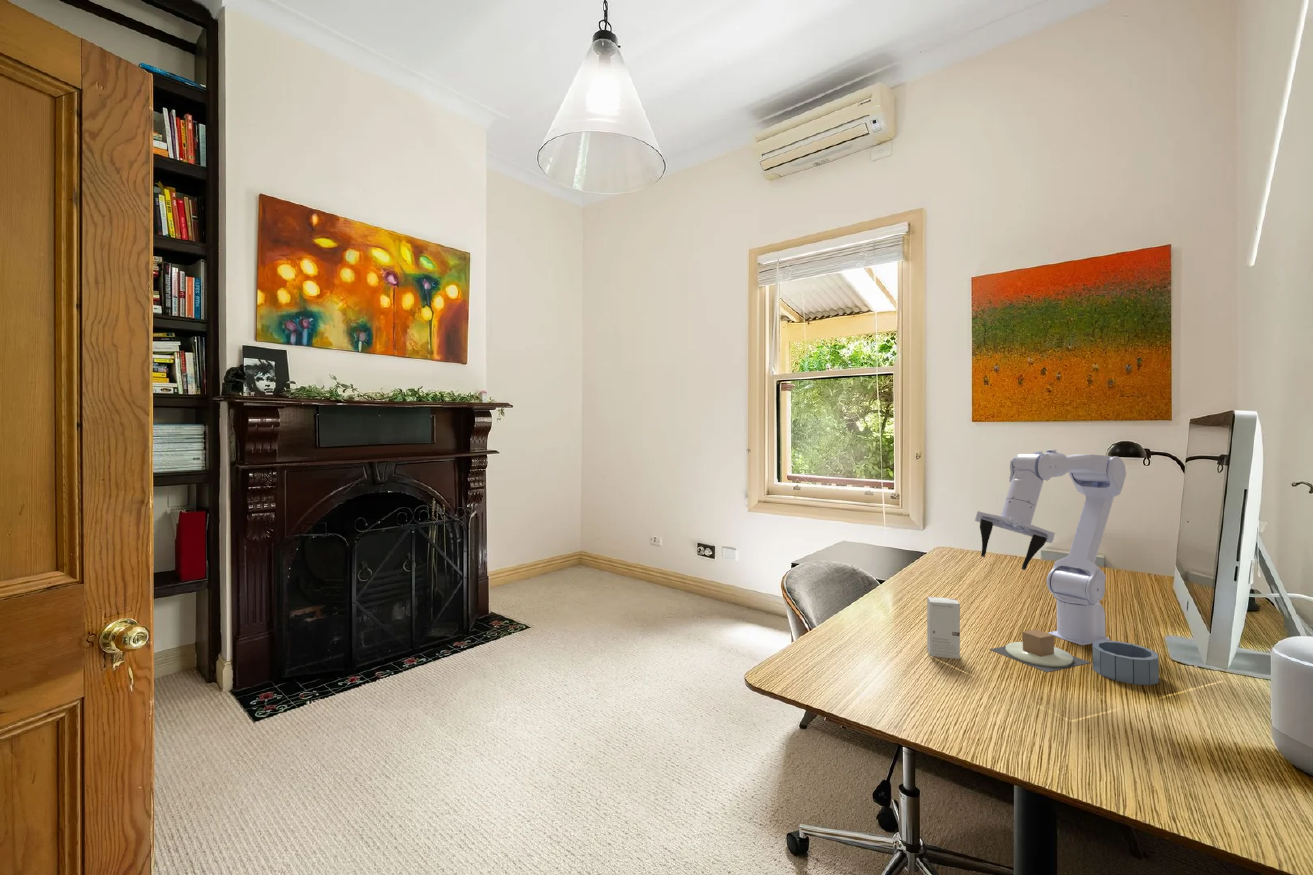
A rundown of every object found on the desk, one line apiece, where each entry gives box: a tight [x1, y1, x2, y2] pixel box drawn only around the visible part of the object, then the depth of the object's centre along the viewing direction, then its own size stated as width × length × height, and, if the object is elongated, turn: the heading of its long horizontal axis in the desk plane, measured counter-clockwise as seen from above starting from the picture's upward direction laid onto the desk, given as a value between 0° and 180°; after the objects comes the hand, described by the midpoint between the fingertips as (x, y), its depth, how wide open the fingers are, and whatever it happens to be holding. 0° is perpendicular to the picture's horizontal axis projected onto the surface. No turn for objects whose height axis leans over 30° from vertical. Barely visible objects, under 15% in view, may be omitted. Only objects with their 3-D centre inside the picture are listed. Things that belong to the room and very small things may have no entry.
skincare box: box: [926, 596, 961, 660], centre depth 122 cm, size 6×4×12 cm
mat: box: [988, 645, 1092, 673], centre depth 120 cm, size 13×13×1 cm
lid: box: [1005, 629, 1073, 667], centre depth 120 cm, size 12×12×5 cm
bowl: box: [1091, 640, 1160, 686], centre depth 111 cm, size 10×10×5 cm
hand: (1002, 562), depth 119 cm, fingers open, 7 cm apart
